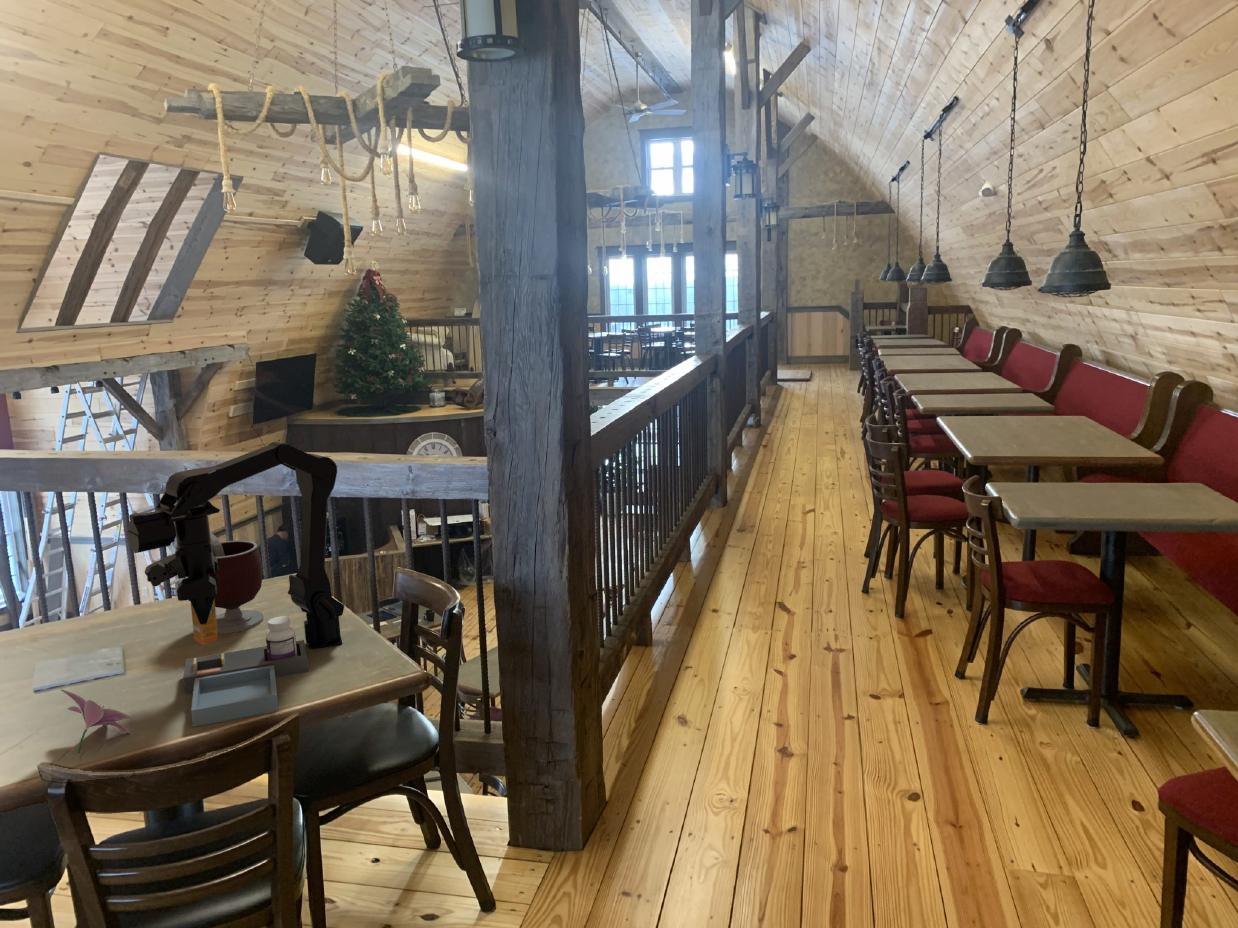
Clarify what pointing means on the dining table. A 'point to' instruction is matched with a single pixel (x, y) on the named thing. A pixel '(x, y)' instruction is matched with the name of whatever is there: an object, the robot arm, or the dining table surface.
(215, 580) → the robot arm
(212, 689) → the tray
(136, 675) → the dining table surface
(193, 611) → the supplement box
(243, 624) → the mate gourd
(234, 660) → the block
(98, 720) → the lily
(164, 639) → the dining table surface
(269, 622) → the pill bottle
